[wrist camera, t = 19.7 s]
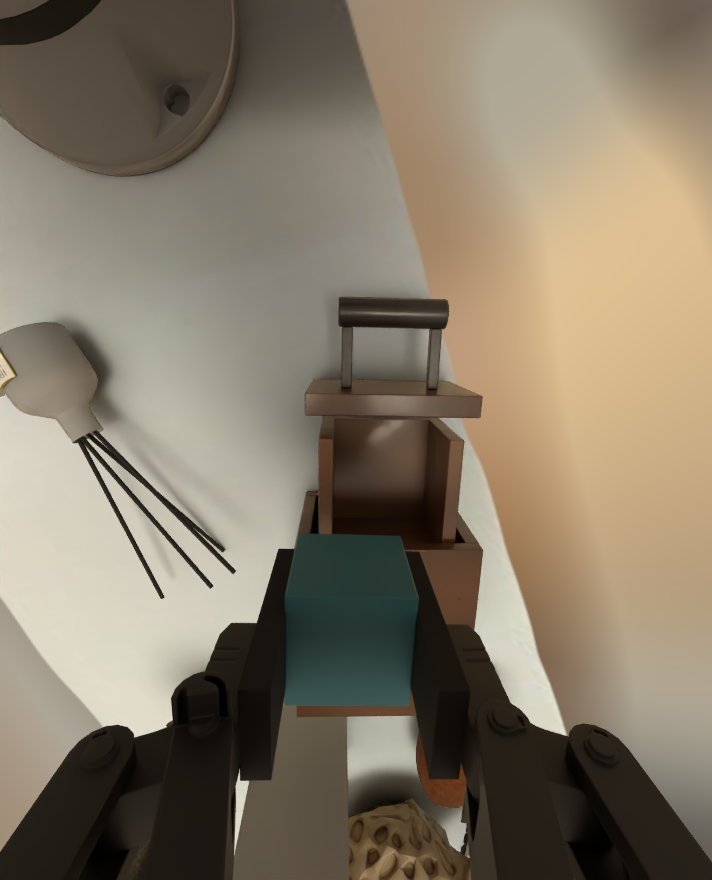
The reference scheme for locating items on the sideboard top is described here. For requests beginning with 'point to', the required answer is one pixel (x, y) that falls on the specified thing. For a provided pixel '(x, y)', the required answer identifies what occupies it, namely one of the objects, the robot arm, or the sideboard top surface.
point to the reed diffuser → (75, 412)
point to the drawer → (390, 435)
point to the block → (349, 622)
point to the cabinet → (452, 584)
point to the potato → (440, 783)
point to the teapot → (402, 846)
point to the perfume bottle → (299, 806)
